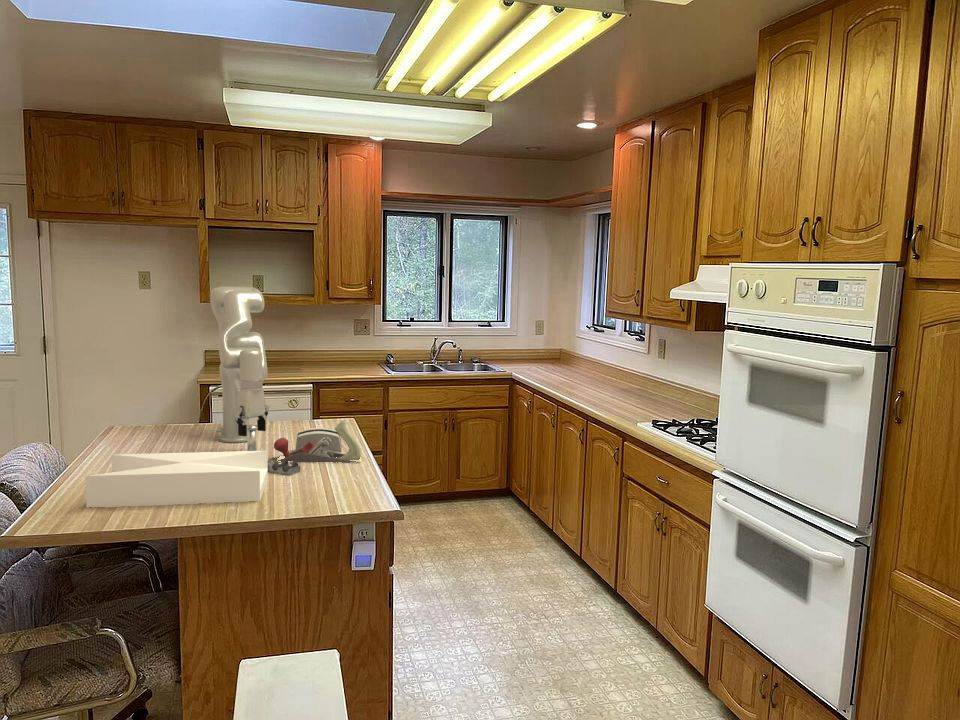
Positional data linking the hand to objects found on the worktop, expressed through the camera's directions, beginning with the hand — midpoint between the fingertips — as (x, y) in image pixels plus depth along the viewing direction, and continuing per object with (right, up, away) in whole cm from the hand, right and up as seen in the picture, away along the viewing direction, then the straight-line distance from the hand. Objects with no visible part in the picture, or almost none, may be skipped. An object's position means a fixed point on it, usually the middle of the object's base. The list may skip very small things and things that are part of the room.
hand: (252, 433), depth 237 cm
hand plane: (+23, -10, 0) cm, 25 cm away
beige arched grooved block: (+21, -8, +11) cm, 25 cm away
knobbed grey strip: (+5, -10, -11) cm, 16 cm away
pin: (-1, -8, +2) cm, 9 cm away
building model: (-7, -14, -38) cm, 41 cm away
